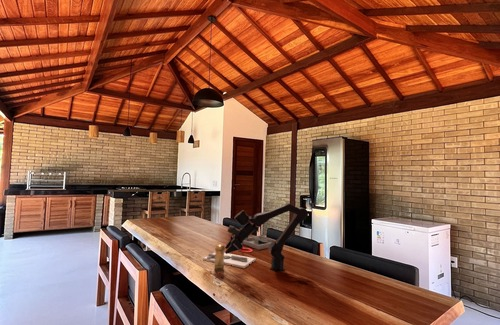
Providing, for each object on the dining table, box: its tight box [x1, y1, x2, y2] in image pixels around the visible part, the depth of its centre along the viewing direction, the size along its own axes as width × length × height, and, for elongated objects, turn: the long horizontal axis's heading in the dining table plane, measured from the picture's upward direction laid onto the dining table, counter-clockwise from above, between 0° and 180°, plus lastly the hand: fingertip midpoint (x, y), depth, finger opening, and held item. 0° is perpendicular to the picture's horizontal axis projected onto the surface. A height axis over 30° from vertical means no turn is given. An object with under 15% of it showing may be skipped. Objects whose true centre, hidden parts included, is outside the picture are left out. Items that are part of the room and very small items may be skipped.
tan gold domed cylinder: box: [214, 244, 226, 272], centre depth 150 cm, size 5×5×13 cm
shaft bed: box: [202, 252, 257, 269], centre depth 166 cm, size 28×16×3 cm, turn 65°
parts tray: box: [242, 235, 277, 251], centre depth 206 cm, size 22×22×3 cm
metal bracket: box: [252, 236, 272, 245], centre depth 206 cm, size 14×6×15 cm
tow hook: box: [237, 243, 253, 254], centre depth 187 cm, size 8×13×9 cm
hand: (225, 250), depth 150 cm, fingers open, 9 cm apart
